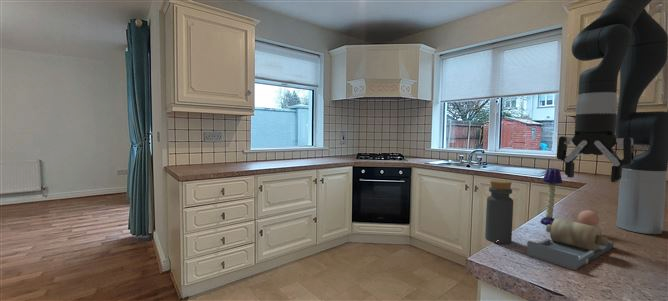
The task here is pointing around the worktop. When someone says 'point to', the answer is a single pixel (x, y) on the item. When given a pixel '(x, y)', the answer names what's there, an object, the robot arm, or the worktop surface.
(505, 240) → the bottle
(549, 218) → the toy lamp
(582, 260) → the grey long tray
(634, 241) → the worktop surface
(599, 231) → the maple rolling pin
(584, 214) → the ball
